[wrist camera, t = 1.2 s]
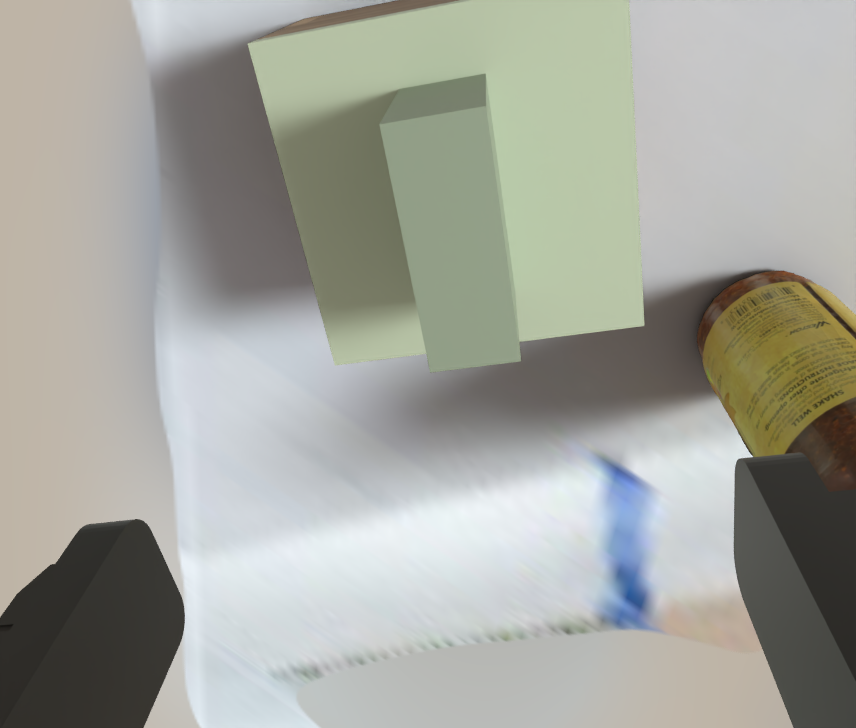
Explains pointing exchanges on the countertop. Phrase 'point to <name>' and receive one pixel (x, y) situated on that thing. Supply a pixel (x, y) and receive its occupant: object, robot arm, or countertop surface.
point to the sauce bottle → (786, 370)
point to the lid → (462, 175)
